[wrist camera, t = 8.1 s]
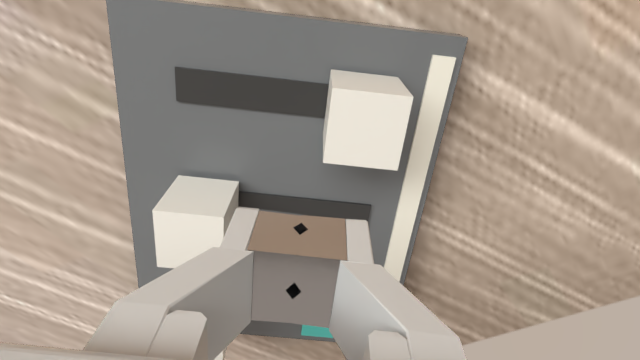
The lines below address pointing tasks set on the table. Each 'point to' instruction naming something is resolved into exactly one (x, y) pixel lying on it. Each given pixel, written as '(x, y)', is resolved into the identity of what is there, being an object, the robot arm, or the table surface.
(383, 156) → the tab
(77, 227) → the table surface
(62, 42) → the table surface
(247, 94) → the switch panel
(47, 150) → the table surface
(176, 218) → the tab
